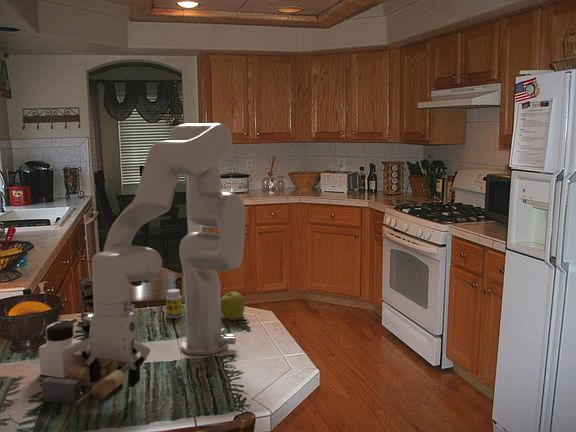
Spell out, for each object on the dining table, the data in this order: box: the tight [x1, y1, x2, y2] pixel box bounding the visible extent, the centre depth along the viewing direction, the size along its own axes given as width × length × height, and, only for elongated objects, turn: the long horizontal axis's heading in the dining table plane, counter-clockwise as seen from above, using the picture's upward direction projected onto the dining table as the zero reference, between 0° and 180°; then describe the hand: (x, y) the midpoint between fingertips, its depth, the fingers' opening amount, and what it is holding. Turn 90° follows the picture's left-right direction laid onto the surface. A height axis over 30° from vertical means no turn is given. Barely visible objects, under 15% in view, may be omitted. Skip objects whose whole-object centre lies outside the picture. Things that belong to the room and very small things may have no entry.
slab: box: [73, 345, 113, 367], centre depth 136 cm, size 8×11×2 cm
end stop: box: [41, 376, 81, 406], centre depth 121 cm, size 8×2×4 cm, turn 76°
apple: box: [221, 289, 246, 321], centre depth 176 cm, size 8×8×10 cm
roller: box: [90, 369, 126, 400], centre depth 126 cm, size 8×4×4 cm
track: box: [37, 360, 131, 407], centre depth 131 cm, size 10×24×4 cm, turn 166°
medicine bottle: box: [38, 321, 83, 379], centre depth 136 cm, size 7×7×12 cm
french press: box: [79, 259, 94, 341], centre depth 158 cm, size 12×9×23 cm
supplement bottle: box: [165, 288, 183, 319], centre depth 178 cm, size 5×5×8 cm
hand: (114, 382), depth 125 cm, fingers open, 9 cm apart
